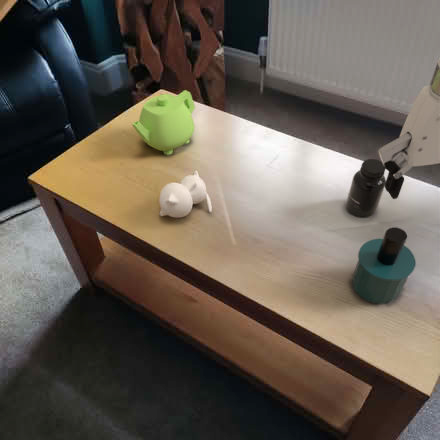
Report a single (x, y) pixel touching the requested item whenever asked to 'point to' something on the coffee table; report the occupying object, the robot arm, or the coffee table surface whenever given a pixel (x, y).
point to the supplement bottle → (366, 189)
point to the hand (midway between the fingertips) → (420, 188)
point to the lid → (388, 256)
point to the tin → (375, 287)
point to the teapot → (166, 121)
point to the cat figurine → (183, 196)
